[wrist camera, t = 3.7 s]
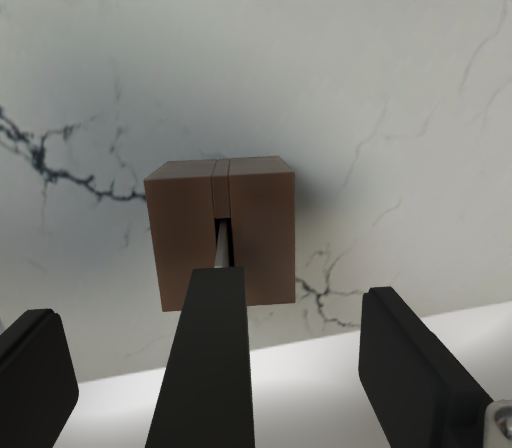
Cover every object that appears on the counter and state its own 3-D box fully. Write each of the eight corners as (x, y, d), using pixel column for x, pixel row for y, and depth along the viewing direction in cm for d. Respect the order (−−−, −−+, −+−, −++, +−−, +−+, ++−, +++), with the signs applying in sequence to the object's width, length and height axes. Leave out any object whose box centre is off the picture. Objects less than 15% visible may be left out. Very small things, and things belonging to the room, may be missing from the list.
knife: (242, 228, 23) (261, 552, 6) (215, 230, 23) (159, 562, 6) (240, 193, 23) (255, 452, 5) (212, 195, 22) (139, 462, 5)
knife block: (179, 264, 24) (162, 312, 18) (167, 161, 22) (143, 179, 16) (281, 257, 24) (295, 303, 18) (279, 155, 22) (294, 171, 16)
